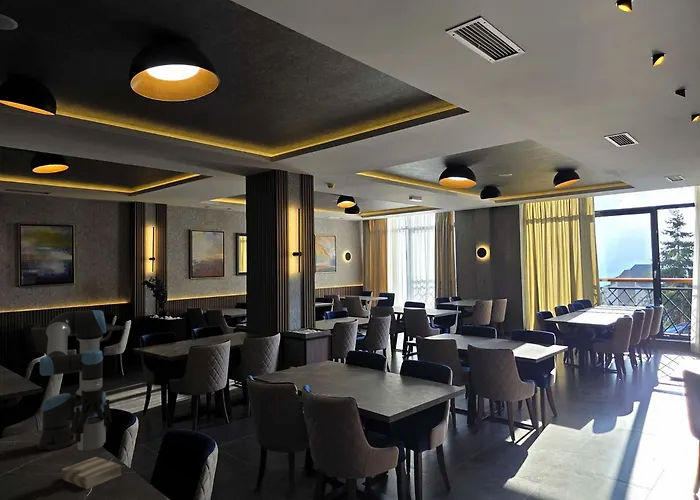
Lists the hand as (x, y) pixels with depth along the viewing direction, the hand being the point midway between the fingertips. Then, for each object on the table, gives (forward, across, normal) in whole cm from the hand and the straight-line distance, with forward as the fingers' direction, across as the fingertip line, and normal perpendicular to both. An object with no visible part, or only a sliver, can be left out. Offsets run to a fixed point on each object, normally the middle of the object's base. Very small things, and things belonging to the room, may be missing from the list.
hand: (91, 445), depth 187 cm
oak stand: (+13, 0, 0) cm, 13 cm away
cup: (+1, 0, 0) cm, 1 cm away
